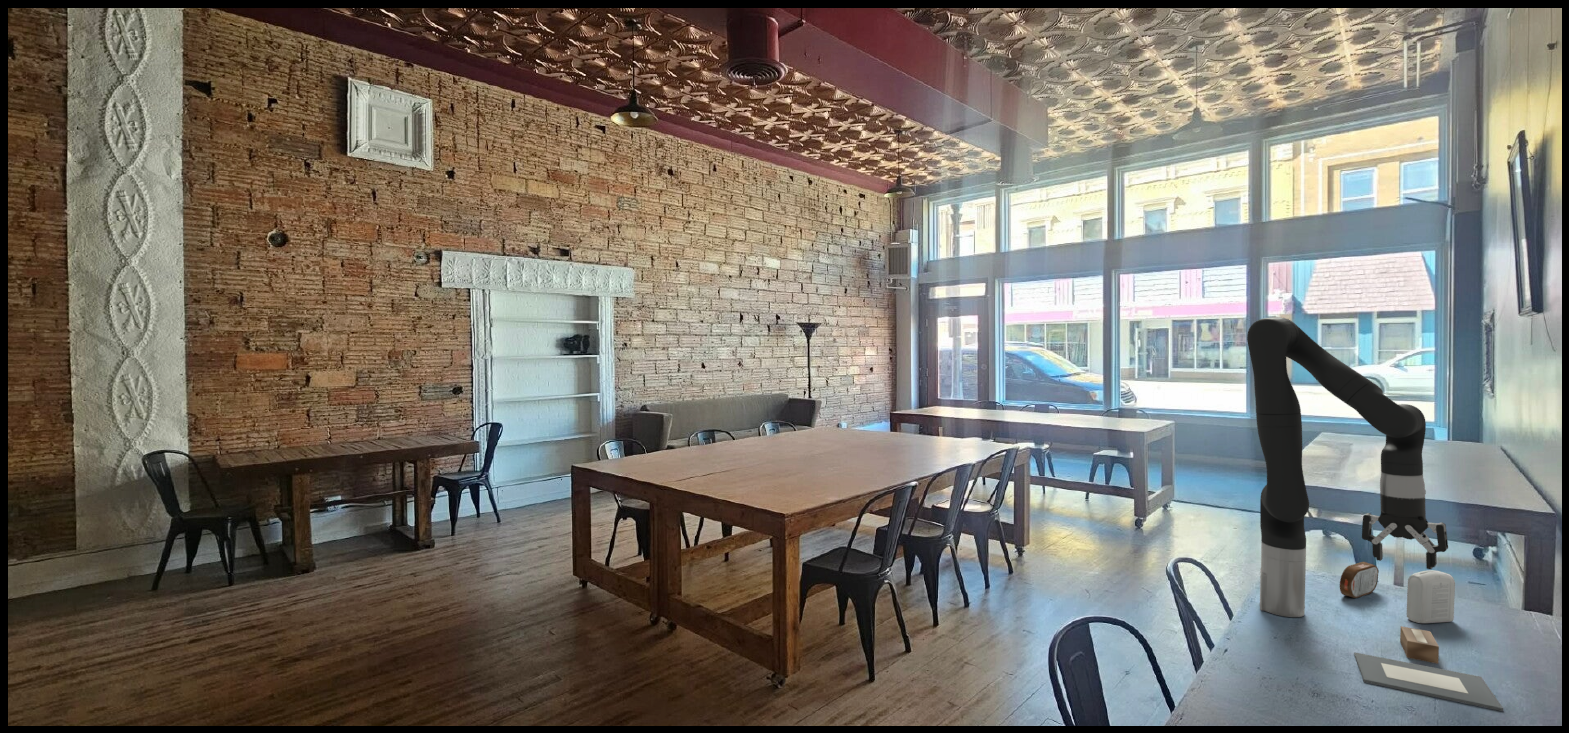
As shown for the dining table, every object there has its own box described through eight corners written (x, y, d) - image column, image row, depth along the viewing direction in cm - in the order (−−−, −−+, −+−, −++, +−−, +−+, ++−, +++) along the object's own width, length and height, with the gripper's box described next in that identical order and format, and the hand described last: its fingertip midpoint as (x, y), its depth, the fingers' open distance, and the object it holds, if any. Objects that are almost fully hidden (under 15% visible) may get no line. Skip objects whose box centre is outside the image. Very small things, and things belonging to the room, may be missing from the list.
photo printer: (1438, 615, 170) (1439, 567, 169) (1457, 622, 166) (1459, 572, 165) (1402, 618, 168) (1404, 569, 168) (1421, 625, 164) (1422, 575, 164)
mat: (1363, 682, 138) (1364, 678, 138) (1354, 655, 150) (1354, 651, 150) (1503, 711, 127) (1503, 708, 127) (1481, 679, 138) (1481, 676, 138)
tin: (1366, 588, 188) (1367, 558, 188) (1380, 592, 185) (1381, 561, 185) (1337, 598, 182) (1338, 567, 181) (1351, 602, 179) (1352, 570, 178)
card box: (1407, 658, 148) (1407, 640, 148) (1400, 643, 155) (1400, 625, 155) (1438, 665, 145) (1438, 646, 145) (1429, 648, 153) (1430, 631, 152)
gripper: (1357, 491, 156) (1359, 561, 157) (1442, 501, 145) (1444, 575, 145) (1366, 486, 161) (1368, 553, 161) (1449, 494, 149) (1451, 567, 150)
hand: (1404, 564), depth 153 cm, fingers open, 8 cm apart
